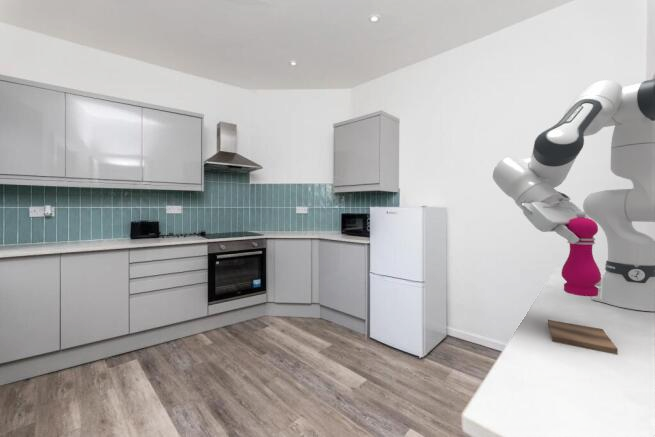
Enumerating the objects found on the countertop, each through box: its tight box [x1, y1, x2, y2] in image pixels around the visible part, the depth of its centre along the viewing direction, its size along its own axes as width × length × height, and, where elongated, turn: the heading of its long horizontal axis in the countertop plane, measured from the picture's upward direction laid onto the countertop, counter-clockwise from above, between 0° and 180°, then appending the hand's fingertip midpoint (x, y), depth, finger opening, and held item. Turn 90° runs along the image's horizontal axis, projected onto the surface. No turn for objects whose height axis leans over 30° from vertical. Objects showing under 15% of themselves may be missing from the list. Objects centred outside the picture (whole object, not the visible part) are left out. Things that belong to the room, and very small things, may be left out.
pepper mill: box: [561, 210, 602, 298], centre depth 69 cm, size 7×7×20 cm
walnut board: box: [547, 319, 618, 355], centre depth 70 cm, size 13×11×1 cm
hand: (584, 241), depth 69 cm, fingers closed on pepper mill, 5 cm apart
